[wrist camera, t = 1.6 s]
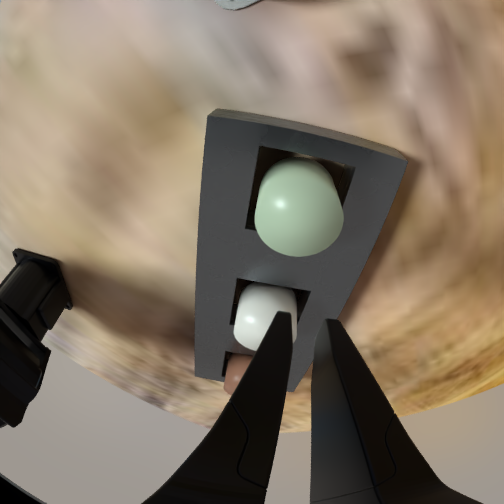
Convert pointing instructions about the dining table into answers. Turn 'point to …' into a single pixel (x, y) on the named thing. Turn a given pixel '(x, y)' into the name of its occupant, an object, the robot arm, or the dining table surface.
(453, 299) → the dining table surface
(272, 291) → the white button
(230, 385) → the terracotta button
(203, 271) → the button panel
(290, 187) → the sage button
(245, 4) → the emergency button
